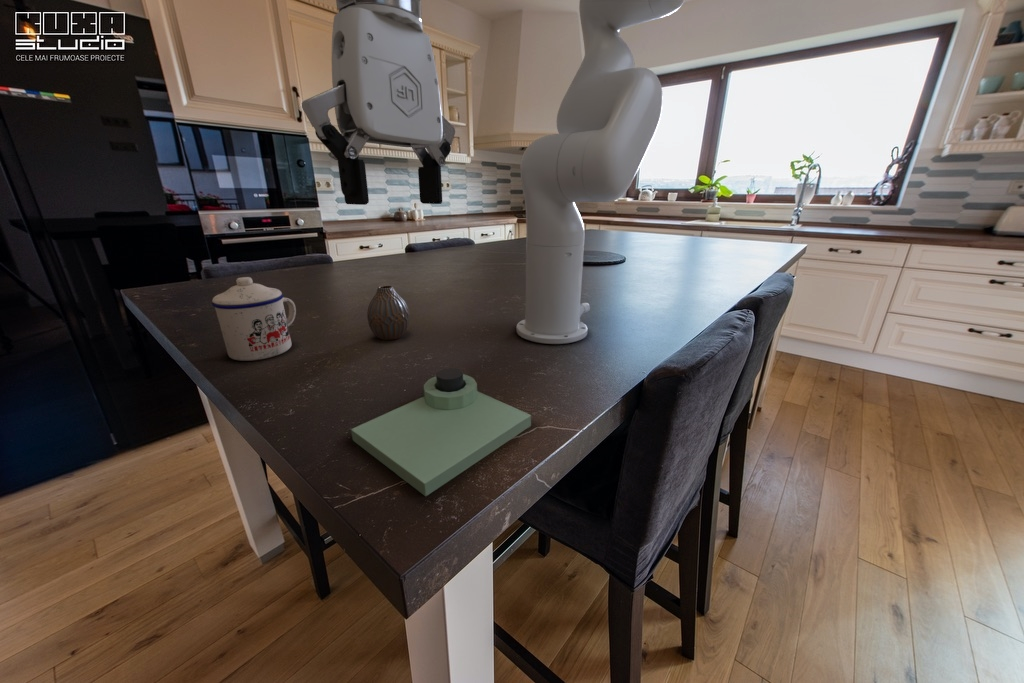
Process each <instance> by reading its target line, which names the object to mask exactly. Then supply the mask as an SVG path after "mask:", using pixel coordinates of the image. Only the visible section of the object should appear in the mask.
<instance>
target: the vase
mask: <svg viewBox="0 0 1024 683" xmlns="http://www.w3.org/2000/svg"><path fill="white" fill-rule="evenodd" d="M366 317H367V318H366V319H367V323H368V326H369V328H370V331H371V332H372V334H374V335H375V336H376V337H377V338H378V339H380V340H382V341H383V340H384V341H392V340H398V339H400V338H402V337H403V336H404V335H405V334H406V333H407V331H408V329H409V326H410V319H411V318H410V310H409V307H408V305H407V303H406V301H405V300H404V299H403V298H402V297H401V295H400V294H398V292H396V289H395V287H394V286H393V285H390V284H389V285H388V284H385V285H379V286H377V289H376V291H375V294H374V296H373V297H372V299H371V300H370V302H369V303H368V306H367V312H366Z"/></svg>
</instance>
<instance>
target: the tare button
mask: <svg viewBox="0 0 1024 683" xmlns="http://www.w3.org/2000/svg"><path fill="white" fill-rule="evenodd" d="M463 374H464V372H463V371H462V369H460V368H455V367H447V368H442V369H440V370H439V371H437V372H436V374H435V377H436V379H437V389H438V390H439V391H441V392H454V391H458V390H460V389H463V387H464V385H463Z"/></svg>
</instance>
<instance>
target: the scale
mask: <svg viewBox="0 0 1024 683" xmlns="http://www.w3.org/2000/svg"><path fill="white" fill-rule="evenodd" d="M463 385H464V387H463V389H460V390H458V391H454V392H441V391H439V390H438V389H437V379H436V376H434V377H431V378H429V379H428V380H427V381H426V382H425V383H424V384H423V396H421V397H420V398H417V399H415V400H413V401H410V402H408V403H407V404H404V405H402V406H399V407H398V408H394V409H393V410H391V411H389V412H385V413H384V414H382V415H380V416H377V417H375V418H372V419H371V420H368V421H366V422H364V423H362V424H359V425H358V426H355V427H353V428H351V429H350V431H351V438H352V441H353V442H354V443H355V444H357V445H358V446H359V447H361V449H363V450H365V451H366V452H367V453H368V454H370V455H371V456H372V457H373V458H375V459H376V460H377V461H379V462H380V463H382V465H384V466H385V467H387V468H388V469H389V470H390V471H392V472H393V473H395V475H397V476H398V477H400V478H401V479H402V480H403V481H404V482H406V483H407V484H409V485H410V486H411V487H413V488H414V489H415V490H417V491H418V493H420V494H421V495H423V496H424V497H428V496H429V495H430V494H432V493H433V492H435V491H436V490H438V489H439V488H441V487H443V486H444V485H445V484H447V483H448V482H450V481H451V480H453V479H454V478H456V477H457V476H458V475H460V474H462V473H463V472H464V471H466V470H468V469H469V468H471V467H472V466H473V465H475V464H476V463H478V462H479V461H481V460H483V459H484V458H486V457H487V456H488V455H490V454H492V453H493V452H494V451H496V450H497V449H499V448H500V447H502V446H504V444H506V443H508V442H509V441H511V440H512V439H513V438H516V436H518V435H519V434H521V433H522V432H524V431H525V430H527V429H529V428H530V427H531V426H532V415H531V414H529V413H527V412H525V411H523V410H520V409H518V408H516V407H513V406H512V405H509V404H507V403H504V402H502V401H500V400H498V399H495V398H493V397H491V396H489V395H487V394H485V393H482V392H480V391H478V384H477V382H476V380H475V378H474V377H472V376H470V375H468V374H466V373H465V374H464V373H463Z"/></svg>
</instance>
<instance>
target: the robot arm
mask: <svg viewBox="0 0 1024 683" xmlns="http://www.w3.org/2000/svg"><path fill="white" fill-rule="evenodd" d="M685 1H686V0H579V2H578V3H579V6H578V7H579V8H578V10H579V20H580V26H581V32H582V41H583V47H584V57H583V59H582V62H581V63H580V66H579V67H578V70H577V71H576V73H575V75H574V77H573V79H572V81H571V83H570V85H569V87H568V89H567V90H566V92H565V94H564V96H563V98H562V100H561V102H560V105H559V109H558V111H557V115H556V129H557V130H556V131H557V132H558V133H553V134H549V135H544V136H542V137H539V138H537V139H535V140H533V141H532V142H530V144H529V145H528V146H527V147H526V148H525V150H524V152H523V154H522V157H521V160H520V161H521V162H520V181H521V186H522V193H523V198H524V206H525V222H526V223H525V224H526V225H525V227H526V231H525V235H526V236H525V237H526V238H525V292H524V294H525V296H524V297H525V299H524V300H525V304H524V317H525V318H524V319H522V320H520V321H519V322H518V323H516V327H515V328H516V334H517V335H518V336H519V337H521V338H522V339H524V340H526V341H529V342H532V343H533V342H534V343H537V344H543V345H544V344H545V345H547V344H548V345H565V344H570V343H571V344H572V343H575V342H579V341H582V340H583V339H585V338H586V337H587V336H588V326H587V324H585V323H584V322H582V321H581V317H582V316H583V315H584V314H586V313H588V312H590V310H591V306H590V304H589V303H588V302H582V303H581V299H582V298H581V297H582V296H581V295H582V280H583V267H584V252H585V251H584V249H585V238H586V235H585V234H586V233H585V224H584V221H583V219H582V216H581V213H580V212H579V211H580V210H579V209H578V207H577V205H576V203H610V202H611V203H612V202H614V201H617V200H618V199H620V198H621V197H623V196H624V195H625V194H626V193H627V192H628V190H629V188H630V187H631V185H632V183H633V180H634V179H635V177H636V175H637V173H638V171H639V169H640V167H641V164H642V162H643V160H644V158H645V156H646V154H647V151H648V150H649V148H650V145H651V143H652V141H653V139H654V137H655V135H656V132H657V129H658V127H659V125H660V120H661V116H662V113H663V112H662V110H663V98H664V97H663V96H664V95H663V87H662V83H661V80H660V79H659V77H658V76H657V74H656V73H655V72H654V71H653V70H651V69H649V68H647V67H643V66H641V67H640V66H638V67H635V66H636V65H635V59H634V58H635V57H634V56H633V53H632V51H631V49H630V47H629V46H628V44H627V42H626V41H625V40H624V39H623V38H622V37H621V34H620V30H623V29H626V28H630V27H635V26H637V25H640V24H643V23H647V22H651V21H653V20H658V19H661V18H666V17H667V16H670V15H672V14H673V13H675V12H677V11H678V10H679V9H680V8H681V7H682V6H683V4H684V3H685ZM335 3H336V9H337V10H338V12H337V13H336V14H334V16H333V21H332V22H333V23H332V32H331V33H332V34H331V80H332V81H331V82H332V87H331V88H329V89H327V90H324V91H322V92H319V93H317V94H315V95H314V96H311V97H308V98H306V99H304V100H303V101H302V102H301V108H302V111H303V112H304V115H305V116H306V117H307V119H308V121H309V123H310V125H311V126H312V128H313V129H314V131H315V136H316V137H317V139H318V140H319V142H320V143H322V144H323V145H324V146H325V148H326V149H327V150H328V151H329V154H330V156H331V158H332V159H333V160H335V161H337V167H338V176H339V184H340V189H341V193H342V195H343V197H344V202H345V204H346V205H355V206H357V205H359V206H363V205H364V206H365V205H368V204H369V202H370V199H369V191H368V190H369V189H368V180H367V179H368V178H367V170H366V163H365V160H364V159H359V155H360V154H361V152H362V150H363V148H364V147H365V145H366V144H368V143H369V144H376V145H381V146H382V145H383V146H392V147H398V148H411V149H412V150H413V152H414V154H415V155H416V157H417V158H418V160H419V162H420V163H421V164H422V166H418V169H417V173H418V174H417V175H418V189H419V191H418V192H419V202H420V203H421V204H422V205H423V204H425V205H442V203H443V183H442V168H443V167H444V166H446V159H447V157H448V156H449V155H450V153H451V151H452V144H453V141H454V137H455V134H456V128H455V126H454V125H452V124H451V122H449V121H448V120H447V119H446V118H445V117H444V116H443V115H442V105H441V104H442V102H441V94H440V86H439V84H440V83H439V78H438V71H437V64H436V59H435V56H434V51H433V46H432V42H431V38H430V35H429V34H427V33H425V32H424V25H423V9H422V8H423V6H422V0H335ZM333 108H334V113H335V120H336V124H337V127H338V128H337V127H335V126H334V125H333V123H331V119H330V117H329V111H330V110H331V109H333Z"/></svg>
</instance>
